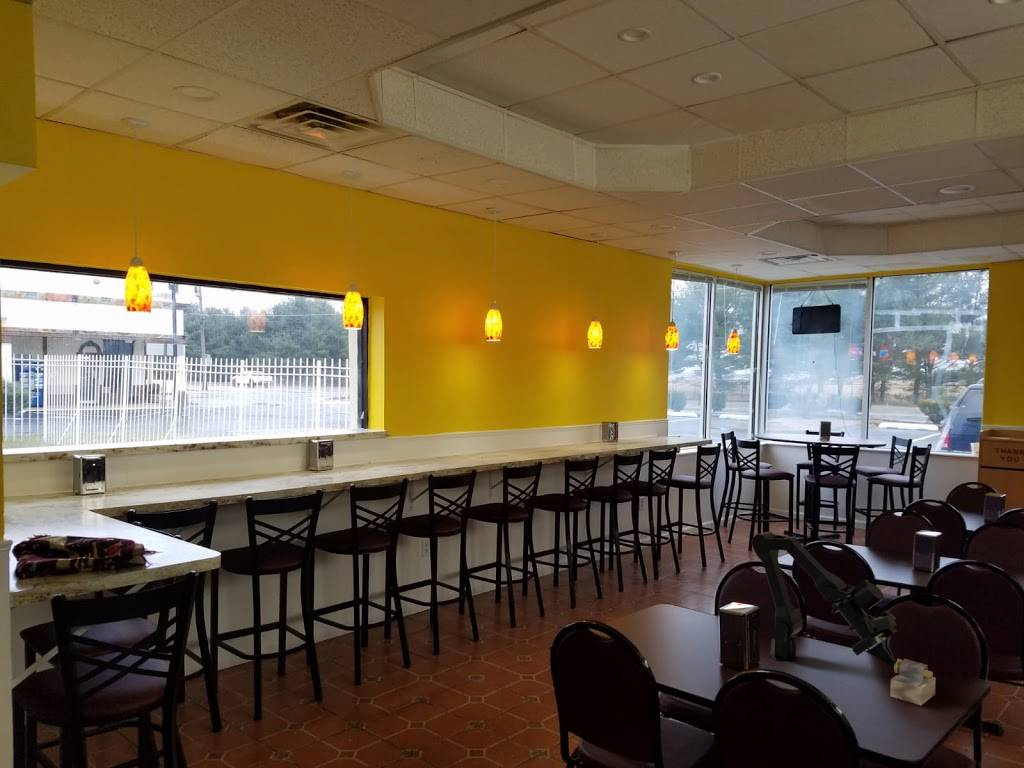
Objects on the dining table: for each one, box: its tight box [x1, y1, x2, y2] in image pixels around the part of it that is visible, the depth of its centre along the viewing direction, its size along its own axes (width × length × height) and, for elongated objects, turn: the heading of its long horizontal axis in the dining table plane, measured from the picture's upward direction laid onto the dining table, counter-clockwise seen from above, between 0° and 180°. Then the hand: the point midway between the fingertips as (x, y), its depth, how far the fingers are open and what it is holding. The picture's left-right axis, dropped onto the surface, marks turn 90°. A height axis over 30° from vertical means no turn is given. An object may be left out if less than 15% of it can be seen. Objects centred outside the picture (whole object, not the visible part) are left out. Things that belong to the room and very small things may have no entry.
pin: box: [893, 658, 934, 679], centre depth 214 cm, size 9×4×4 cm, turn 43°
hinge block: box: [890, 658, 936, 706], centre depth 214 cm, size 8×11×9 cm
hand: (895, 666), depth 218 cm, fingers closed, pressing on pin
